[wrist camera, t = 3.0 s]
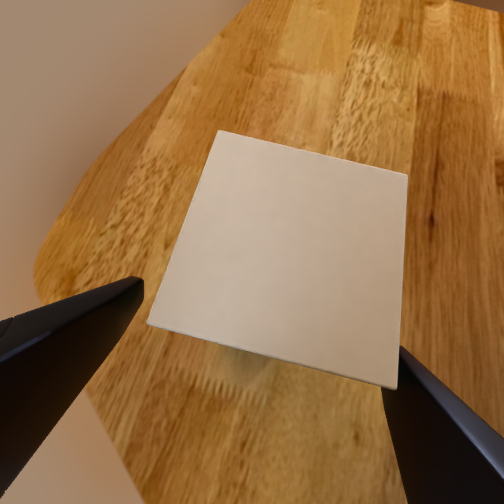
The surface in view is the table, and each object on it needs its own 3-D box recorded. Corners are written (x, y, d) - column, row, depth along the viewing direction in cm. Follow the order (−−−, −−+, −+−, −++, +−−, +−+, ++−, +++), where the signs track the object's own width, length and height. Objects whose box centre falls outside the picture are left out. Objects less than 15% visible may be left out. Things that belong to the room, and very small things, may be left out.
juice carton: (282, 348, 17) (398, 391, 5) (213, 329, 17) (144, 324, 5) (296, 279, 18) (409, 173, 6) (232, 263, 19) (217, 129, 6)
